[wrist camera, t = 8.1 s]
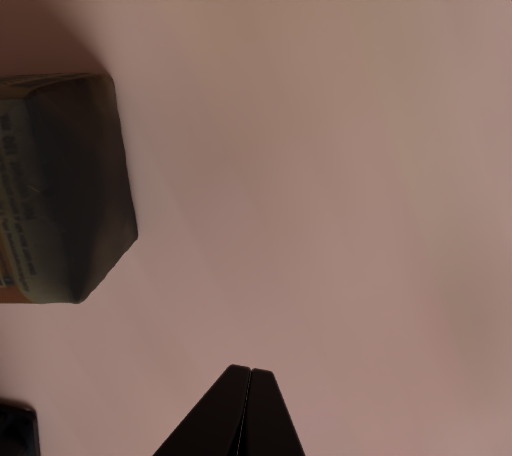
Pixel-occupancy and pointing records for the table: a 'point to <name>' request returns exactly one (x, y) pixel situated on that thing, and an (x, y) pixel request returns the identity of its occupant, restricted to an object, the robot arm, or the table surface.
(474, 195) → the table surface
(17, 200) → the beverage carton
